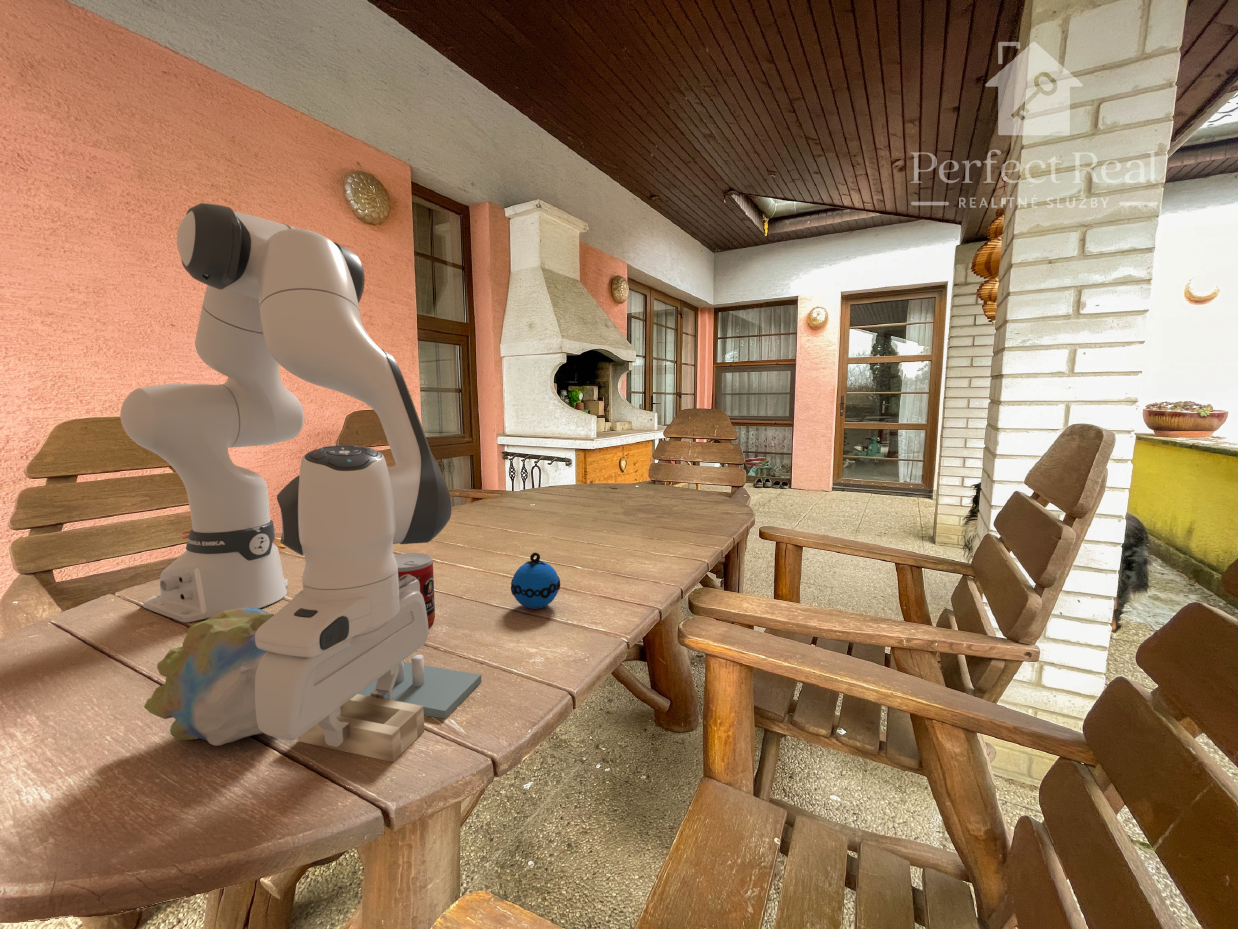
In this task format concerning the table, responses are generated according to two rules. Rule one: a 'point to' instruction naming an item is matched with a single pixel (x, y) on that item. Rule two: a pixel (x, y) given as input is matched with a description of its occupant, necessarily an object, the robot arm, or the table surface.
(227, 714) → the decorative rock
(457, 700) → the boss board
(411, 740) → the beige wooden rectangular frame
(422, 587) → the canned food
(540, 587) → the ornament
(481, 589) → the table surface
